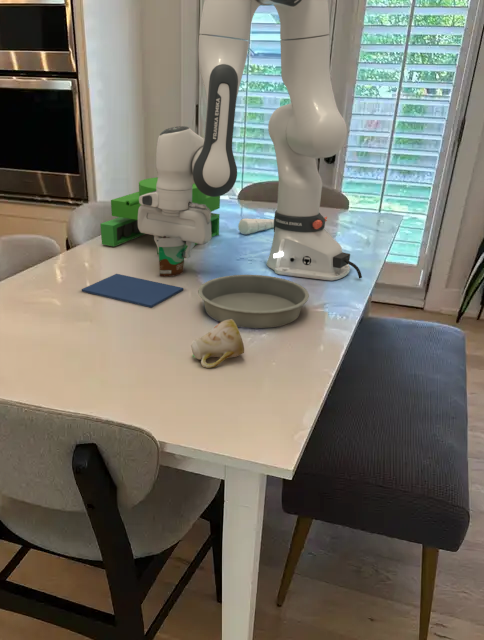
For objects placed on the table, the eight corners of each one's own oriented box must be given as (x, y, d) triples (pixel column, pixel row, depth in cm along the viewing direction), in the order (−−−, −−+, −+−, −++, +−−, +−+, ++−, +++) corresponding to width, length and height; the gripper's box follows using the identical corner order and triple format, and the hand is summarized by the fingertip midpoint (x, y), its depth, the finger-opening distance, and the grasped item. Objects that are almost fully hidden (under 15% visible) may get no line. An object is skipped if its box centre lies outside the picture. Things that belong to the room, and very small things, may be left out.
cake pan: (310, 296, 145) (312, 278, 142) (302, 337, 124) (305, 316, 122) (210, 287, 149) (210, 269, 146) (186, 325, 128) (186, 305, 126)
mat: (183, 290, 147) (183, 287, 146) (151, 307, 136) (151, 305, 136) (116, 275, 155) (116, 273, 154) (81, 291, 144) (81, 289, 144)
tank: (89, 249, 174) (84, 190, 165) (154, 224, 200) (153, 171, 191) (161, 263, 164) (159, 201, 156) (219, 234, 191) (221, 180, 182)
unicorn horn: (298, 225, 203) (299, 210, 201) (247, 236, 190) (247, 220, 188) (288, 222, 206) (289, 208, 204) (237, 233, 193) (237, 217, 191)
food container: (181, 280, 153) (182, 240, 147) (158, 278, 154) (157, 238, 148) (192, 265, 163) (193, 228, 158) (170, 263, 164) (170, 226, 159)
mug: (182, 353, 117) (204, 306, 115) (226, 372, 120) (248, 326, 118) (189, 361, 110) (212, 310, 108) (236, 381, 113) (259, 332, 111)
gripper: (217, 203, 147) (214, 259, 154) (147, 192, 155) (148, 246, 162) (204, 207, 142) (202, 265, 150) (133, 196, 150) (135, 251, 158)
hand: (174, 255), depth 156 cm, fingers closed on food container, 6 cm apart
